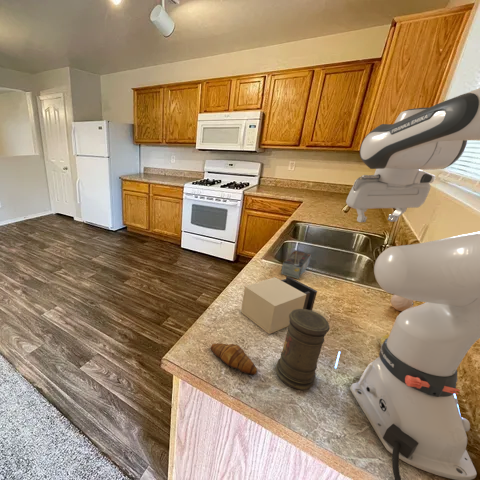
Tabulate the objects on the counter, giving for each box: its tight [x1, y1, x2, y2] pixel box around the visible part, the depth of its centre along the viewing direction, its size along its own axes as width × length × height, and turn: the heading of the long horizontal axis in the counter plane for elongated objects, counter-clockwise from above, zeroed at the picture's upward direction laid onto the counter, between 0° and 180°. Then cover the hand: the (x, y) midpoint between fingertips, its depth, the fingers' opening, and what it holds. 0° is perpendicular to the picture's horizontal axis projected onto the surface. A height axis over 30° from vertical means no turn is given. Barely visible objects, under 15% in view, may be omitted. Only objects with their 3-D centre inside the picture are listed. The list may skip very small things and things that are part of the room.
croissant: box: [210, 342, 258, 376], centre depth 72 cm, size 14×7×5 cm, turn 48°
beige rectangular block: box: [240, 276, 307, 335], centre depth 90 cm, size 15×13×11 cm
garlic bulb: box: [390, 294, 415, 312], centre depth 95 cm, size 7×6×8 cm
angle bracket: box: [280, 276, 318, 311], centre depth 94 cm, size 17×11×9 cm, turn 117°
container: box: [275, 309, 330, 391], centre depth 66 cm, size 9×9×18 cm
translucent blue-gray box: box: [281, 249, 312, 280], centre depth 124 cm, size 8×19×7 cm, turn 139°
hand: (376, 221), depth 78 cm, fingers open, 8 cm apart
